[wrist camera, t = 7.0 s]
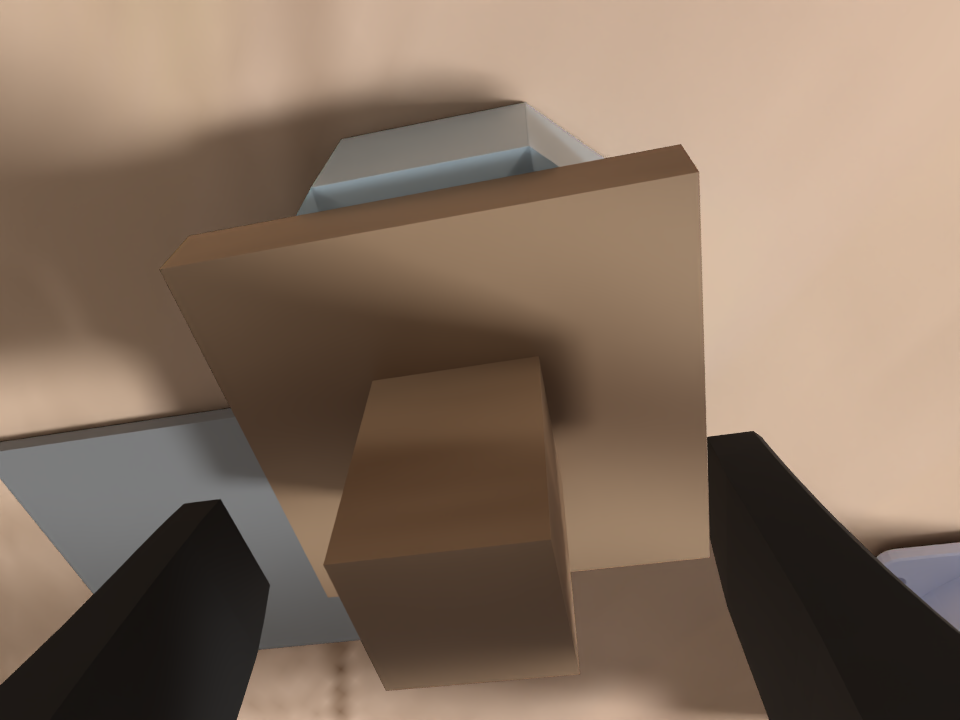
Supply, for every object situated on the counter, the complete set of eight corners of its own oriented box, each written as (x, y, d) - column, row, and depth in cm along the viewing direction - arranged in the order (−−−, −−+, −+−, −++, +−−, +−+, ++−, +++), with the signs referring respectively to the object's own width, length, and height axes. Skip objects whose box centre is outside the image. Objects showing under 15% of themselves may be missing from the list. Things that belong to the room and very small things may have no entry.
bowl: (683, 434, 17) (707, 511, 15) (351, 477, 18) (331, 554, 16) (663, 74, 12) (695, 113, 10) (219, 162, 13) (167, 214, 11)
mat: (388, 626, 22) (386, 637, 21) (152, 649, 23) (147, 660, 22) (285, 400, 17) (280, 410, 16) (-10, 443, 18) (-20, 454, 17)
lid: (696, 512, 15) (769, 754, 11) (339, 553, 16) (281, 787, 12) (681, 144, 10) (793, 317, 6) (188, 235, 12) (12, 433, 7)
